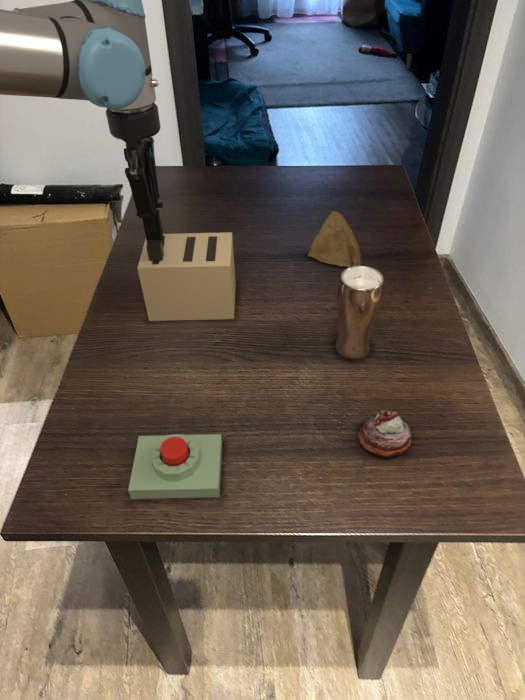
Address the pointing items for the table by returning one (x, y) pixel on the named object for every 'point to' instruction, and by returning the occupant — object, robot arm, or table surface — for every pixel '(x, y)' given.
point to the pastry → (385, 435)
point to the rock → (336, 243)
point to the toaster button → (155, 250)
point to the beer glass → (357, 310)
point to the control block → (177, 469)
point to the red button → (174, 451)
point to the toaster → (190, 278)
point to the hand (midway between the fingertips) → (156, 245)
